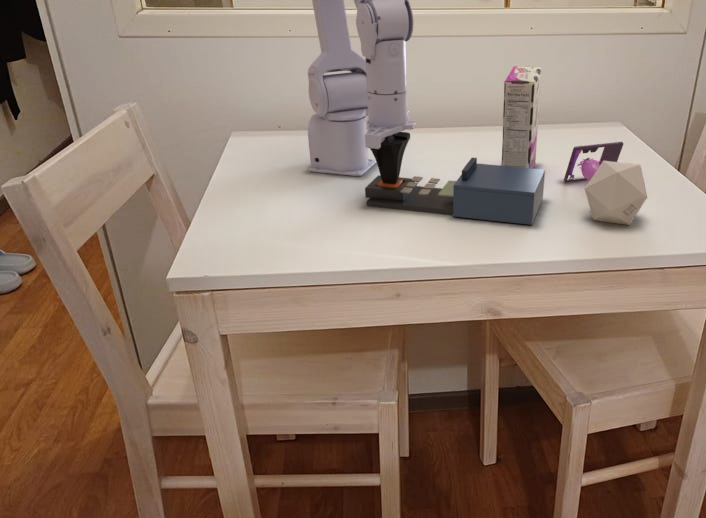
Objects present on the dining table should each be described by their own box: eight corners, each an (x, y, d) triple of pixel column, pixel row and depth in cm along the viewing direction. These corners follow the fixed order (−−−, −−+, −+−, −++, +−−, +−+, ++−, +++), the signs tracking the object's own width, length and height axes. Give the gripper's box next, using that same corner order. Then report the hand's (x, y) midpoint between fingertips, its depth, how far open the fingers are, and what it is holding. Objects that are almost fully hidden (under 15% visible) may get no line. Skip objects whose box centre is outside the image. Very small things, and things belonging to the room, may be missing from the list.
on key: (377, 194, 111) (376, 184, 110) (384, 187, 113) (383, 177, 112) (397, 196, 110) (396, 186, 109) (403, 189, 112) (403, 179, 112)
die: (613, 240, 101) (663, 183, 97) (565, 199, 102) (613, 141, 99) (618, 239, 109) (665, 186, 105) (574, 201, 110) (619, 147, 106)
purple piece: (620, 138, 117) (571, 143, 114) (635, 158, 114) (585, 163, 112) (608, 172, 122) (561, 178, 120) (622, 192, 119) (574, 198, 117)
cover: (453, 216, 105) (453, 174, 102) (469, 192, 114) (470, 153, 110) (532, 225, 103) (535, 182, 99) (542, 199, 111) (546, 159, 108)
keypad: (400, 192, 107) (400, 191, 107) (414, 177, 113) (414, 176, 113) (453, 197, 106) (453, 196, 105) (464, 182, 111) (464, 181, 111)
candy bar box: (507, 163, 127) (512, 65, 118) (535, 165, 127) (543, 66, 118) (498, 184, 118) (503, 79, 109) (528, 186, 117) (536, 81, 108)
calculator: (362, 206, 109) (361, 190, 108) (381, 187, 116) (380, 172, 115) (462, 217, 106) (463, 200, 105) (475, 197, 113) (476, 181, 112)
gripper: (397, 104, 97) (400, 201, 104) (427, 81, 108) (428, 170, 116) (348, 100, 98) (354, 196, 105) (383, 78, 110) (386, 166, 117)
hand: (390, 182), depth 111 cm, fingers closed, pressing on on key
